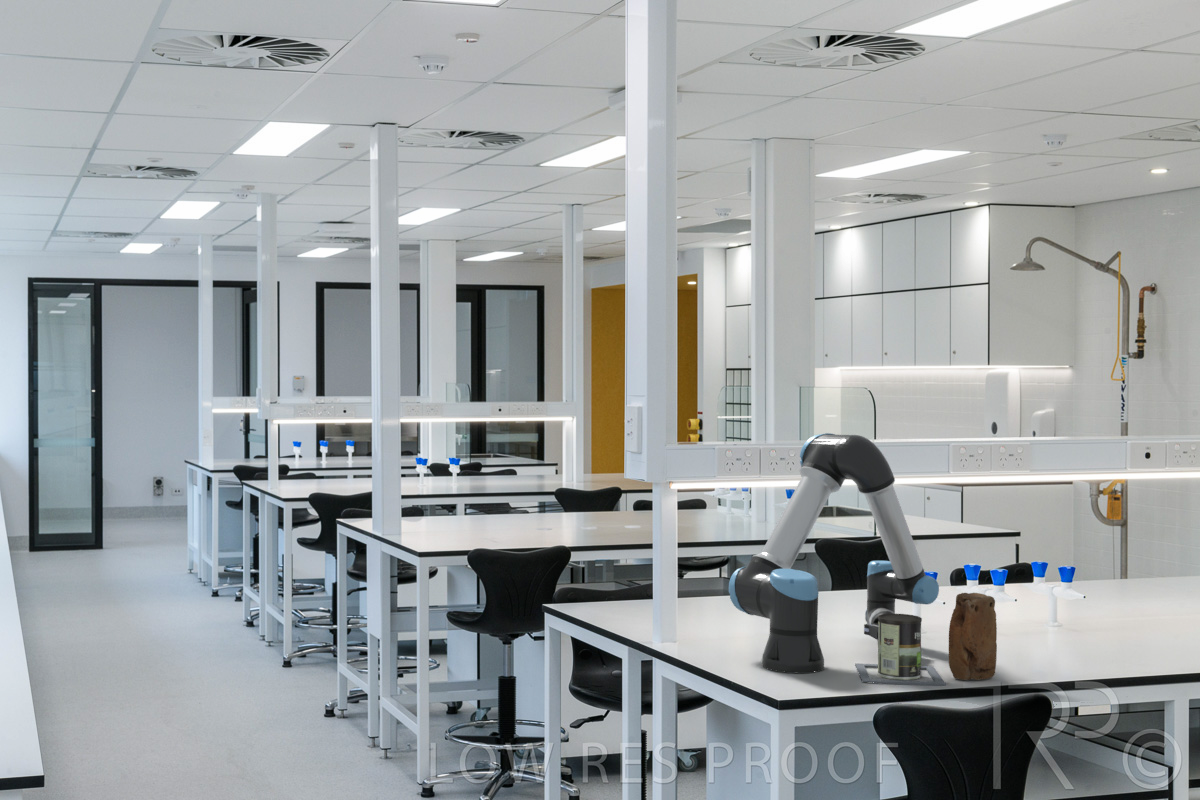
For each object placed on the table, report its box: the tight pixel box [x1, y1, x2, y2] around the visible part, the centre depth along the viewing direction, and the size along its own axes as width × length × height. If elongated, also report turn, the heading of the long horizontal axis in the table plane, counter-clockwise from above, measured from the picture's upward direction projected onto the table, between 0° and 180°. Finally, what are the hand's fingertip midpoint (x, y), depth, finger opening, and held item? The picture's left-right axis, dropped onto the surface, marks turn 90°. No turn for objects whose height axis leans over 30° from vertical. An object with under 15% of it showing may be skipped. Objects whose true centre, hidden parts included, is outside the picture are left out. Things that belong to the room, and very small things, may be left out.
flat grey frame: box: [854, 663, 947, 687], centre depth 291 cm, size 19×19×1 cm
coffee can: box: [877, 613, 923, 681], centre depth 291 cm, size 10×10×14 cm
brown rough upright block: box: [948, 592, 998, 681], centre depth 289 cm, size 11×8×20 cm
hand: (897, 642), depth 299 cm, fingers closed
